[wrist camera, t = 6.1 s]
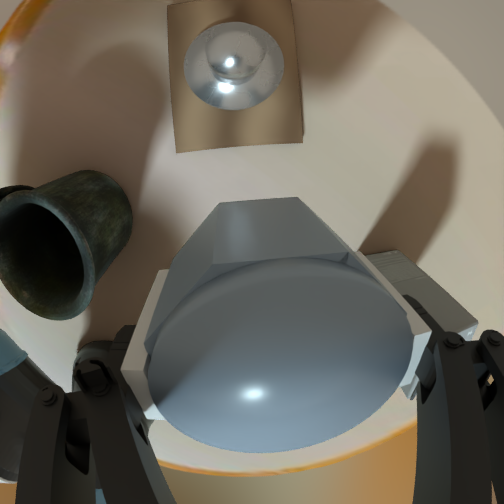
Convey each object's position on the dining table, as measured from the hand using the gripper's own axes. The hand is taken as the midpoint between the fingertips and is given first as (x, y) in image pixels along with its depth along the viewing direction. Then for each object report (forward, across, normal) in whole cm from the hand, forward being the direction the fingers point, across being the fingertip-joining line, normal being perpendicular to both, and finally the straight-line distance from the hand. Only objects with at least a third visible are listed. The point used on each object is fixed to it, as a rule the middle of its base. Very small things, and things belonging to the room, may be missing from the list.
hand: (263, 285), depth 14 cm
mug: (+17, -18, +2) cm, 25 cm away
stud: (+16, 0, +14) cm, 21 cm away
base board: (+16, 0, +14) cm, 21 cm away
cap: (0, 0, 0) cm, 0 cm away
